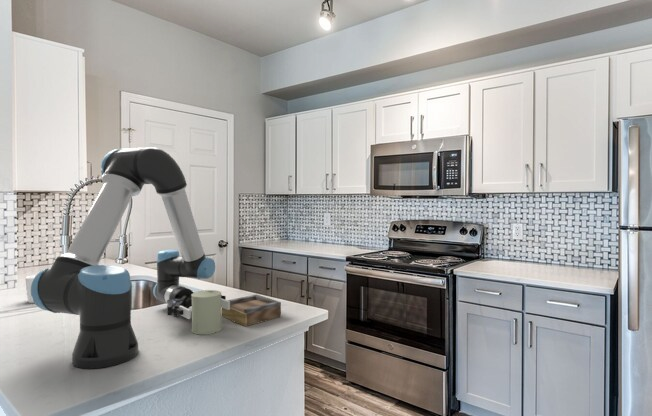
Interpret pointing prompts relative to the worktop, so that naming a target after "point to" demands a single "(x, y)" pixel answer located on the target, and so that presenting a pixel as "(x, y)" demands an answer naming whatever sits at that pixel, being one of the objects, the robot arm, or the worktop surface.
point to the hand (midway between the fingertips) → (210, 309)
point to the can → (206, 312)
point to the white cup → (29, 287)
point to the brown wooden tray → (252, 309)
